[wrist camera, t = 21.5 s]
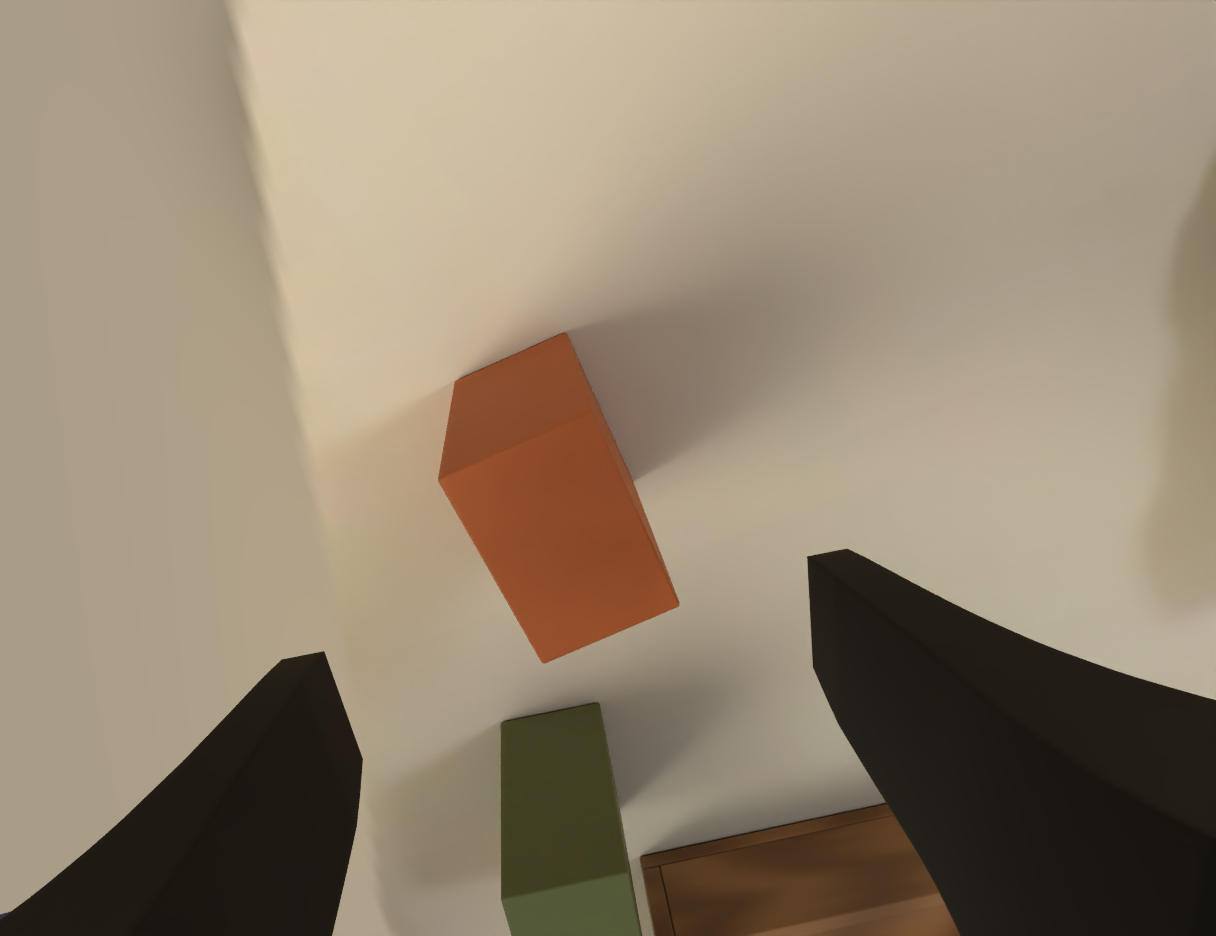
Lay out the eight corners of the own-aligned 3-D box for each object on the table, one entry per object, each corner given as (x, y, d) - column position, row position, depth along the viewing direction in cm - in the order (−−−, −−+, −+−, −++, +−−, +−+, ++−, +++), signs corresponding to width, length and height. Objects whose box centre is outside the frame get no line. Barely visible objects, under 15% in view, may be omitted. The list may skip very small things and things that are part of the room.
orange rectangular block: (531, 527, 21) (542, 665, 16) (454, 381, 19) (436, 479, 14) (633, 483, 21) (680, 606, 16) (565, 331, 19) (591, 411, 14)
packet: (528, 830, 25) (536, 1021, 20) (500, 722, 24) (500, 899, 18) (620, 811, 26) (652, 995, 20) (599, 701, 24) (628, 872, 18)
